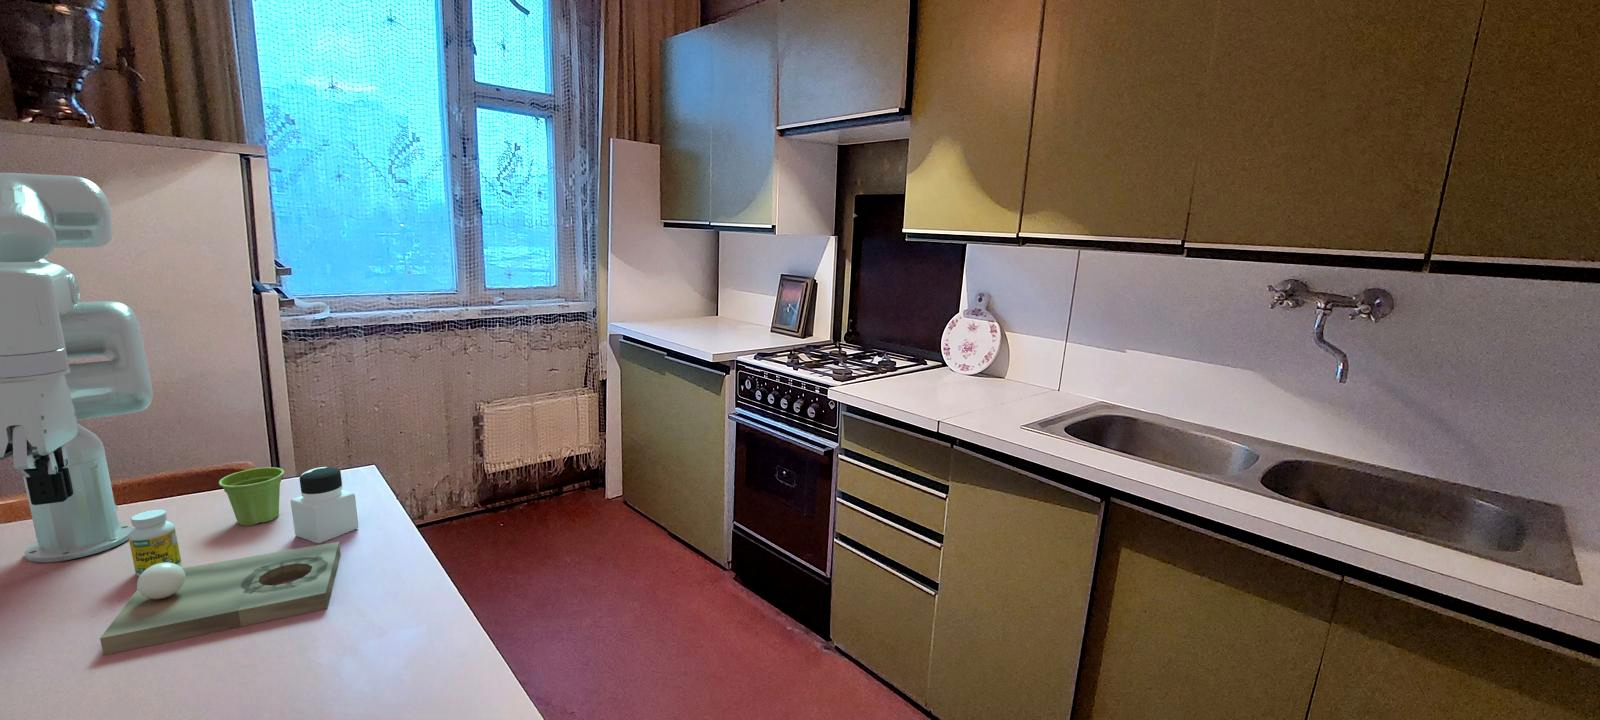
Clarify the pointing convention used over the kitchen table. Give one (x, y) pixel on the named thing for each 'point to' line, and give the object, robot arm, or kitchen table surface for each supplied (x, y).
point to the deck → (228, 597)
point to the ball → (161, 580)
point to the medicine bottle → (323, 506)
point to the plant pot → (254, 494)
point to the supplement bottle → (153, 540)
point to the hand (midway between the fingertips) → (53, 499)
